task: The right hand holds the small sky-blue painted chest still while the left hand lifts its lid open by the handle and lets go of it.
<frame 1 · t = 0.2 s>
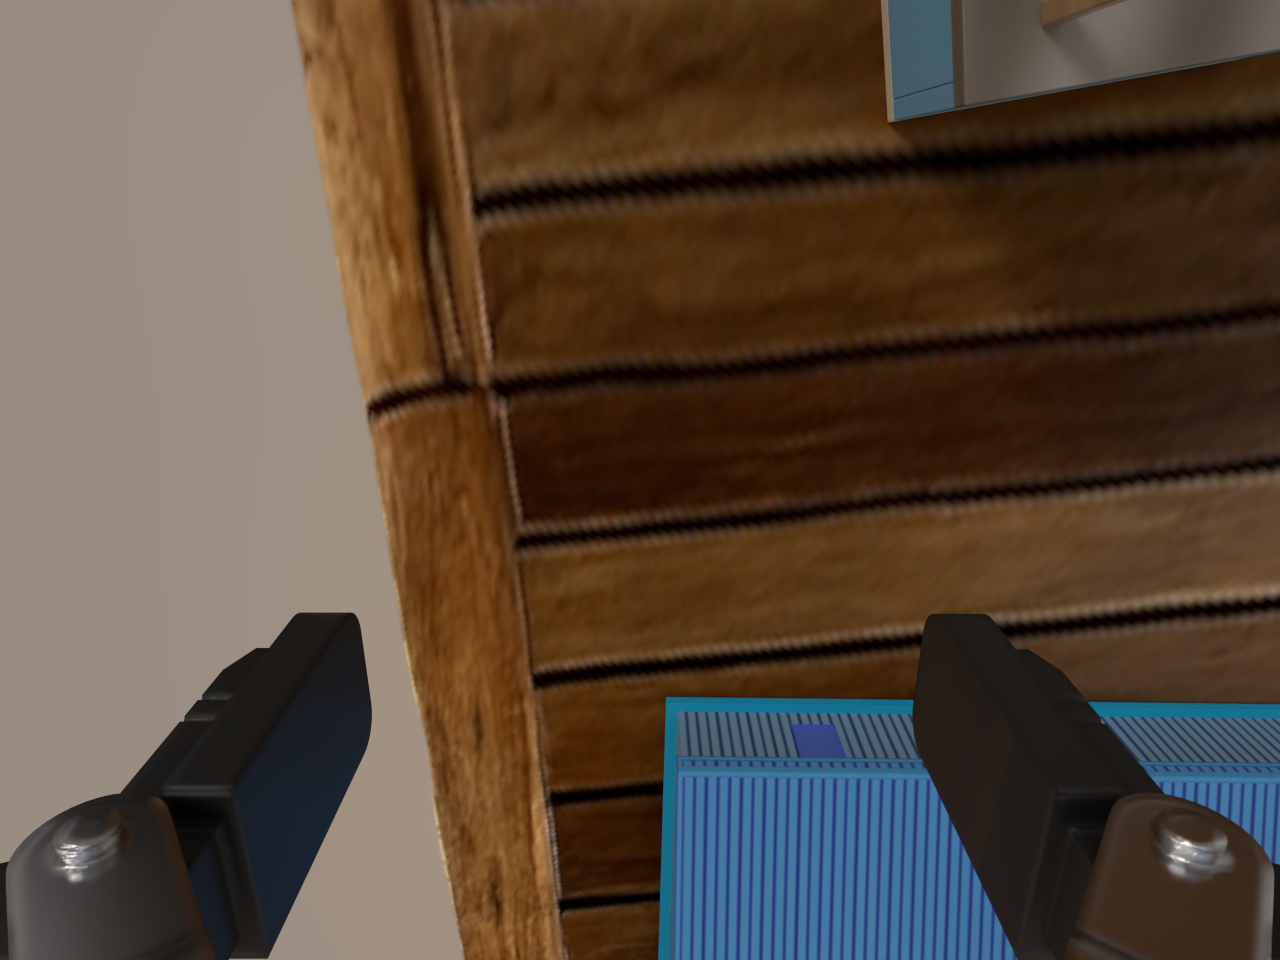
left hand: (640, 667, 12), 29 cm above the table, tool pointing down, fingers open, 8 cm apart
model building: (976, 858, 50), on the table
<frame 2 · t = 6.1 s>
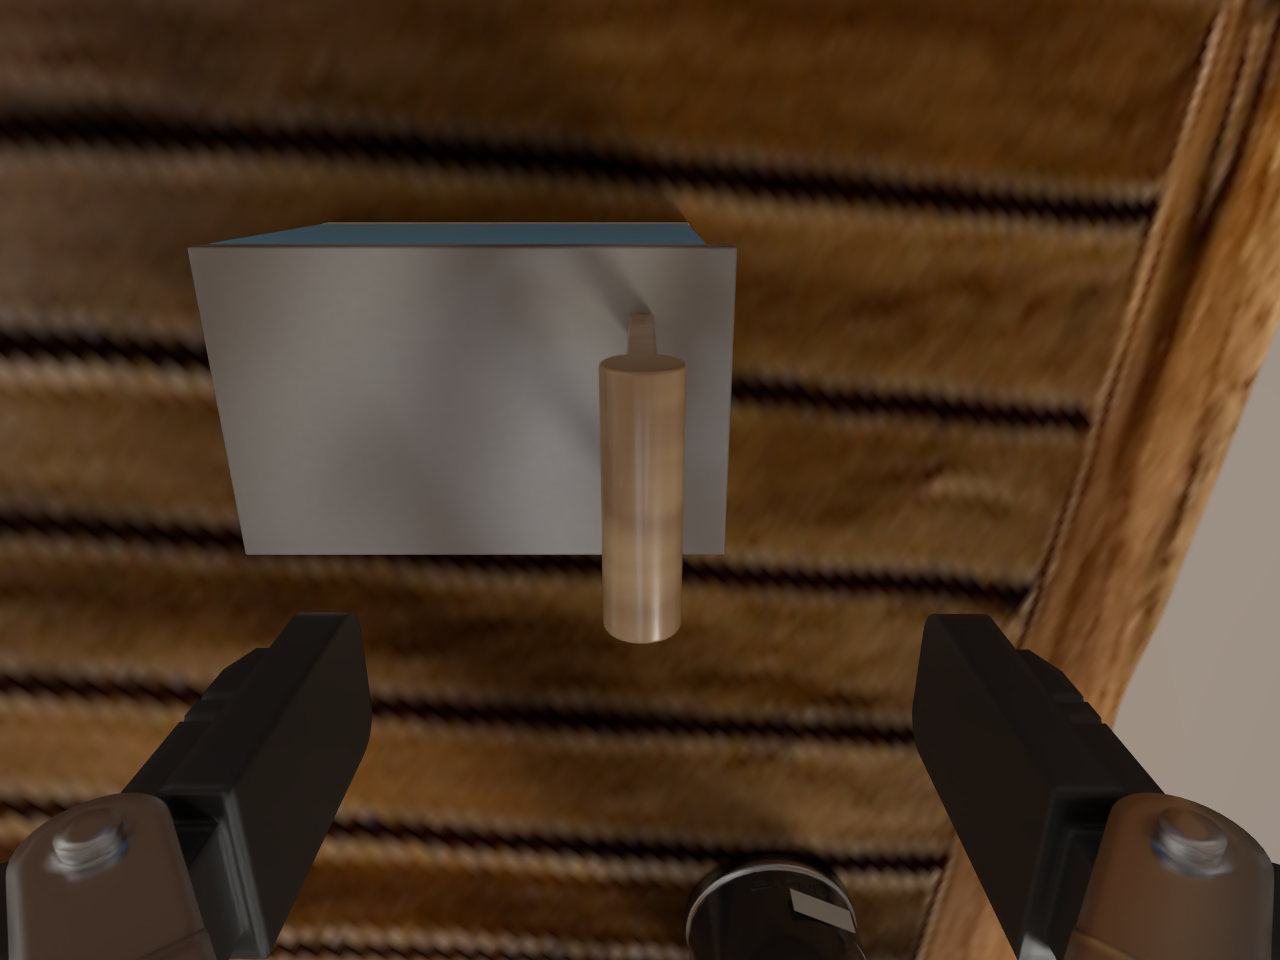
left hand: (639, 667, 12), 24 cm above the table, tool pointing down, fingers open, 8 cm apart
lid: (449, 448, 21), point 15 cm above the table, hinge at 0.0°
chest: (515, 338, 34), on the table
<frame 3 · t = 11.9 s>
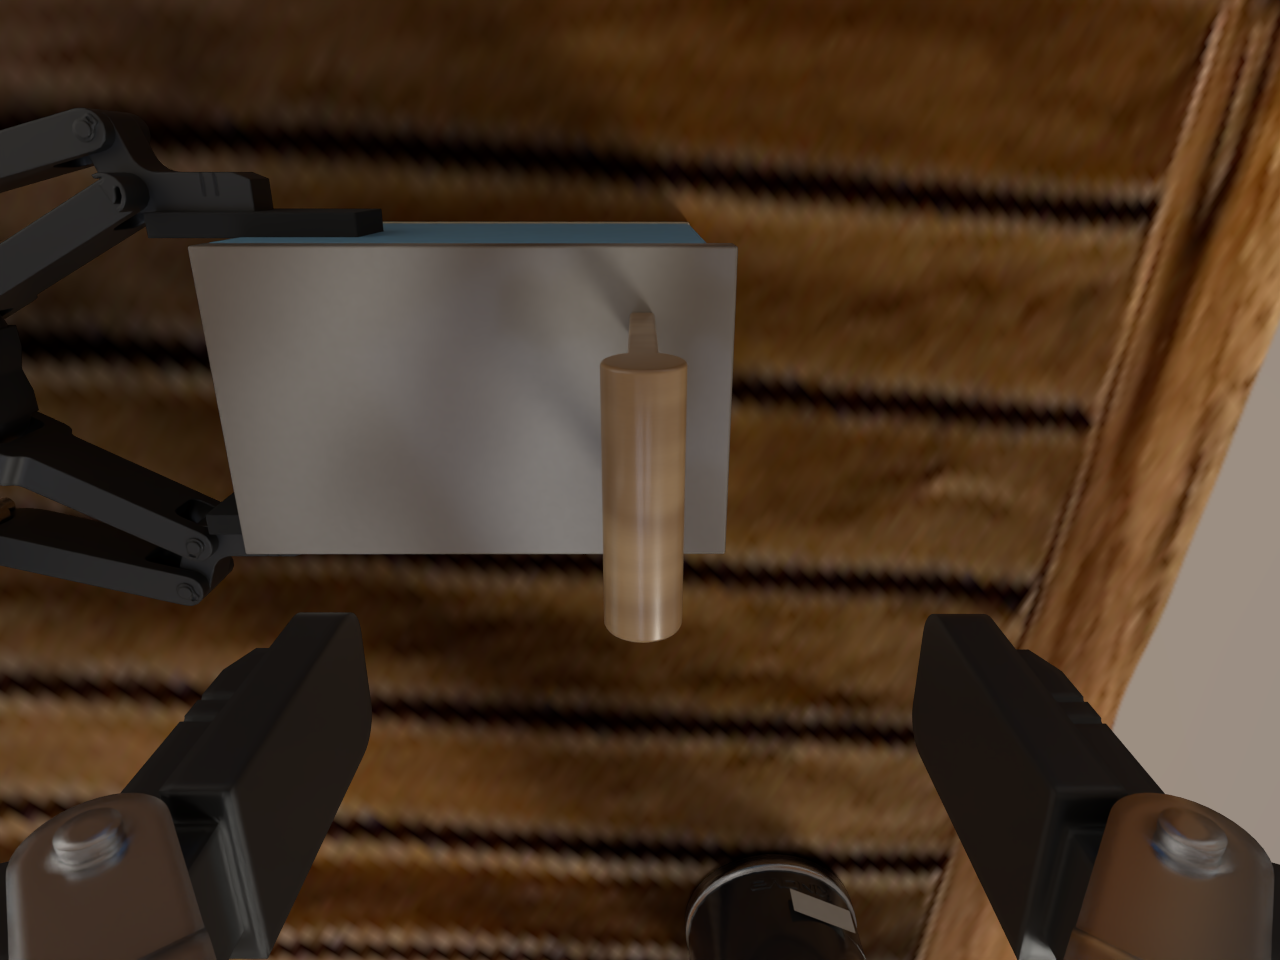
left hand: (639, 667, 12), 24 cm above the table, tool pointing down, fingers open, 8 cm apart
lid: (449, 447, 21), point 15 cm above the table, hinge at 0.0°
chest: (515, 338, 34), on the table, touching right hand
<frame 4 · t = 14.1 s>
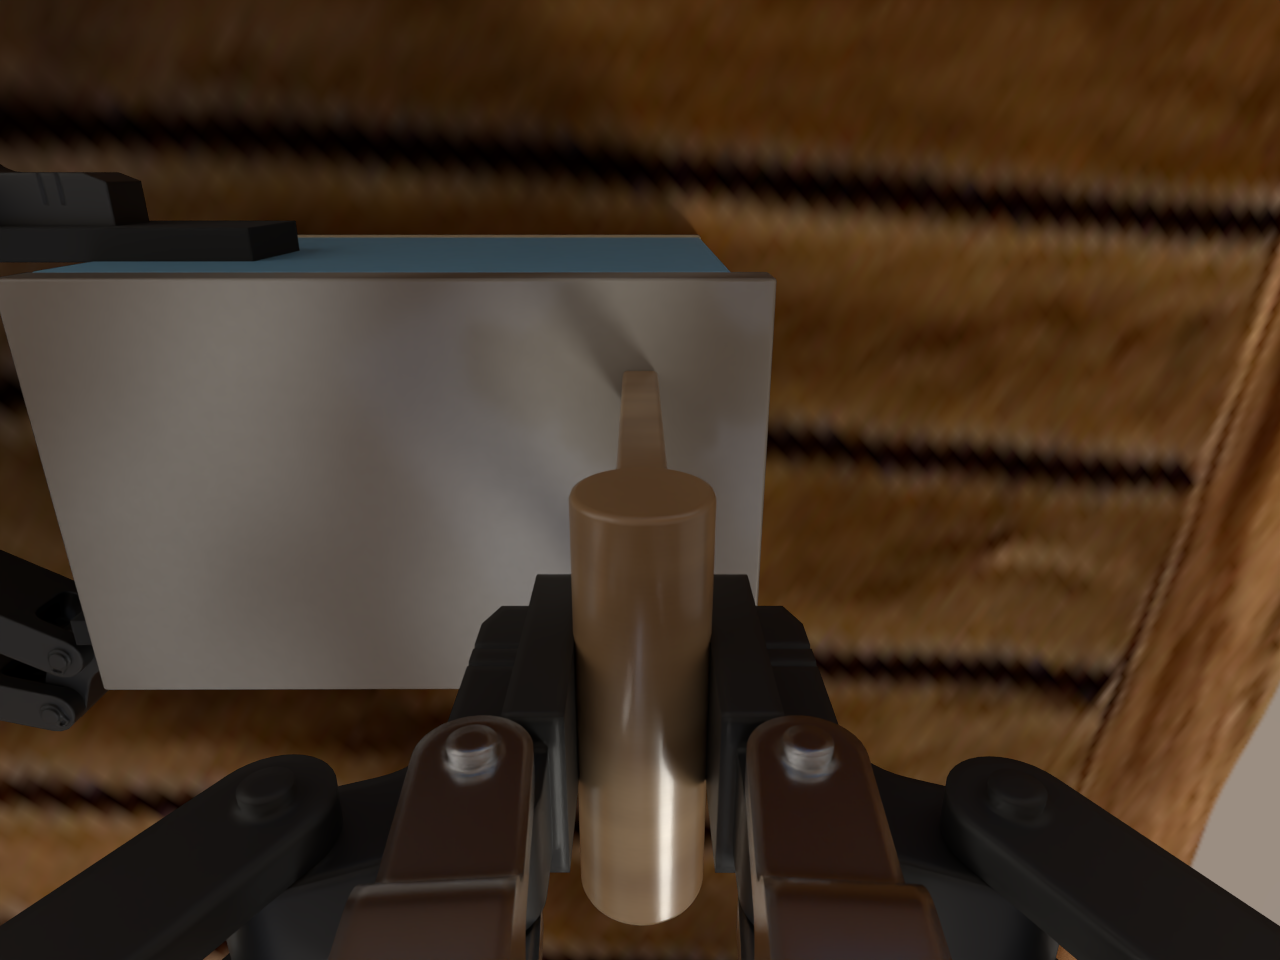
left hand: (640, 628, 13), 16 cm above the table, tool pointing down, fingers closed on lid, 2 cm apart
lid: (357, 578, 14), point 15 cm above the table, hinge at -0.1°, touching left hand
chest: (483, 378, 28), on the table, touching right hand
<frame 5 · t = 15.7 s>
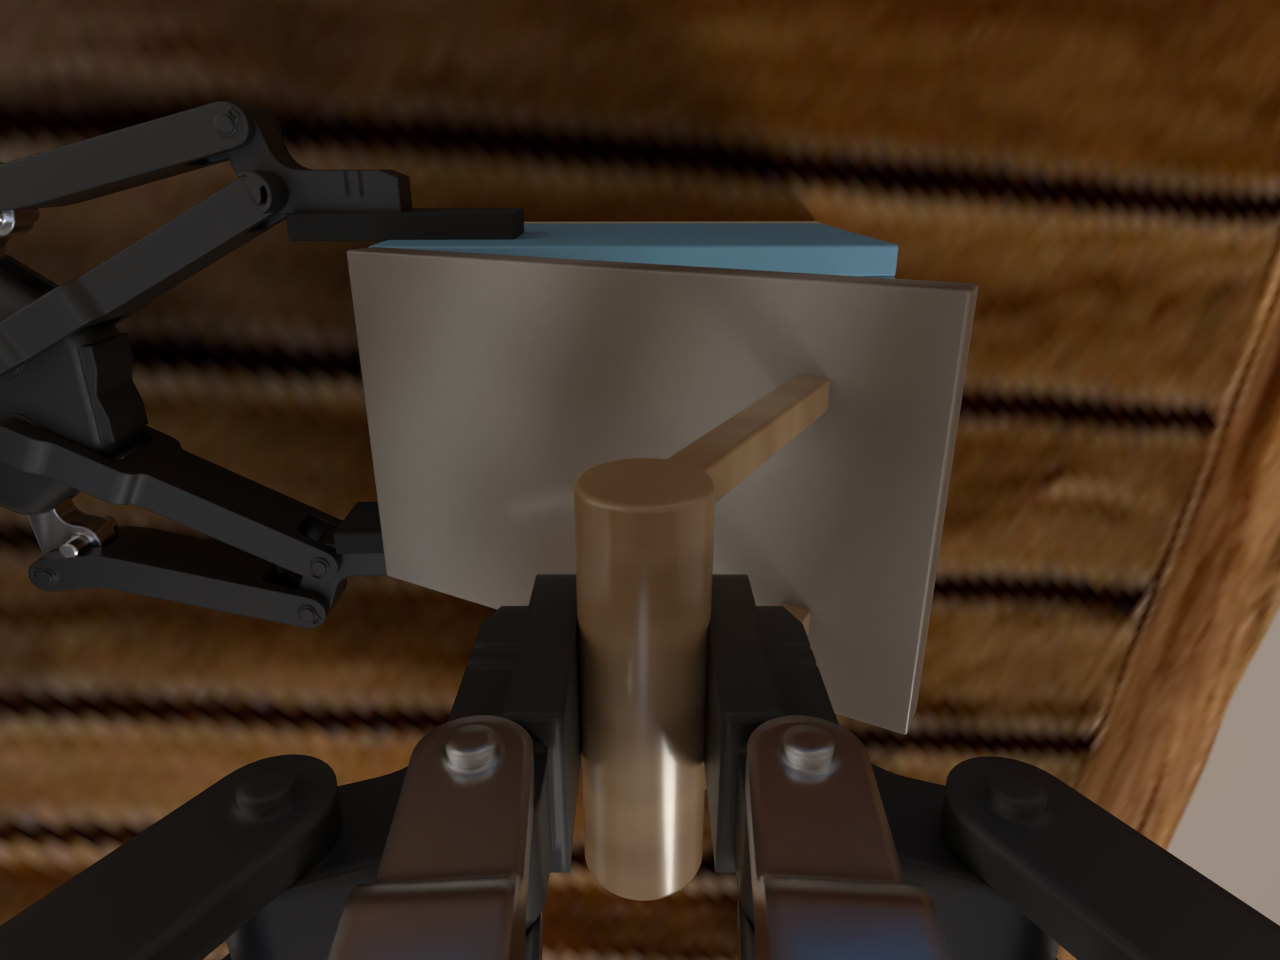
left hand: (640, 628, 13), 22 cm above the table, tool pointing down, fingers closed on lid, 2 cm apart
right hand: (527, 384, 27), fingers closed on chest, 9 cm apart
lid: (512, 523, 16), point 18 cm above the table, hinge at 30.3°, touching left hand
chest: (630, 343, 33), on the table, touching right hand
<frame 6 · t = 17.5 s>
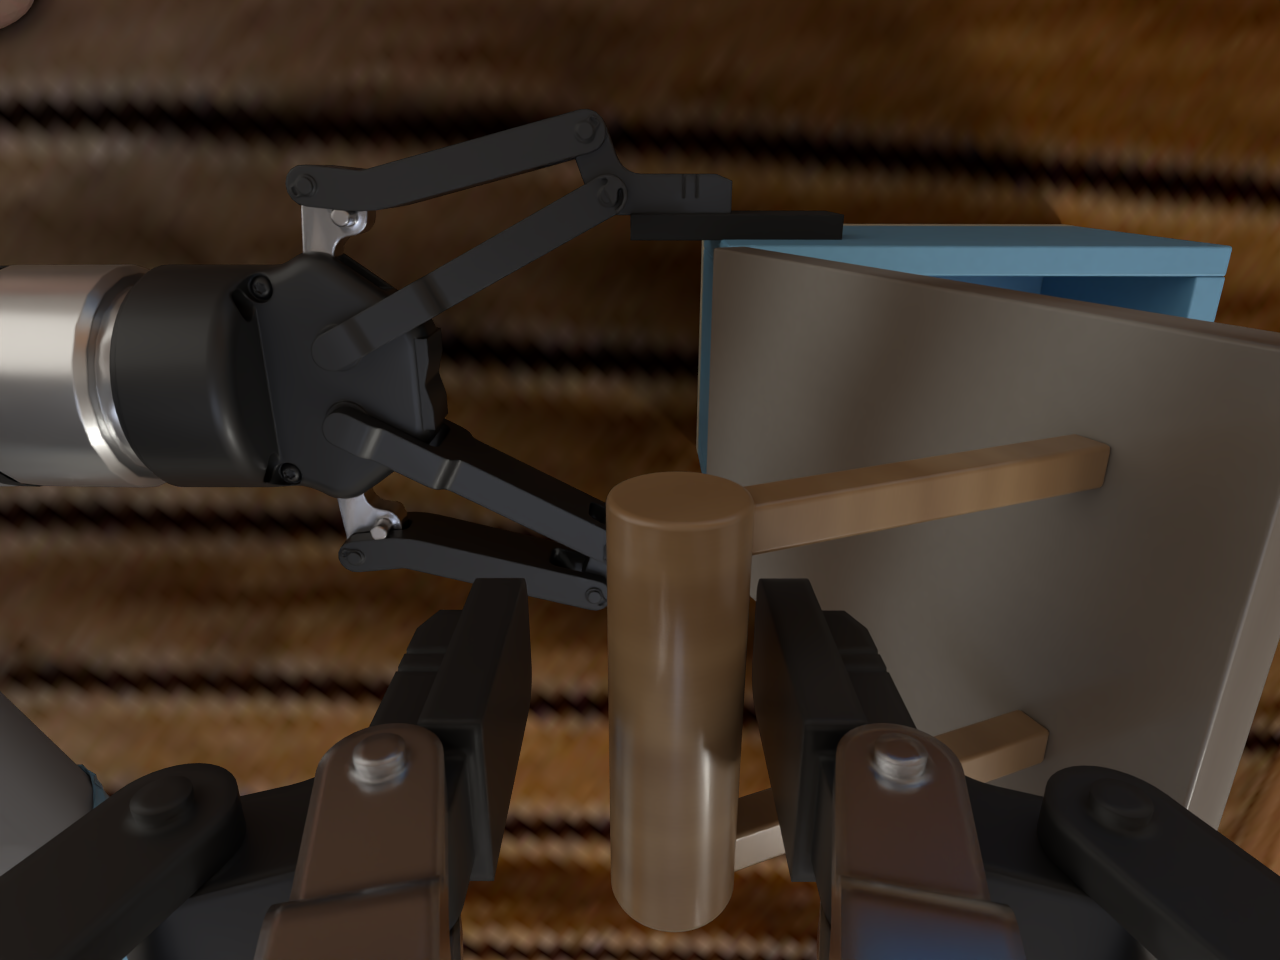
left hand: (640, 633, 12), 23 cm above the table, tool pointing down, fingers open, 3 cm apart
right hand: (820, 378, 28), fingers closed on chest, 9 cm apart
lid: (730, 526, 16), point 19 cm above the table, hinge at 67.0°
chest: (870, 341, 34), on the table, touching right hand
when the right hand's fingers open (7 cm above the table, at t = 21.1 s): chest stays where it is, on the table.
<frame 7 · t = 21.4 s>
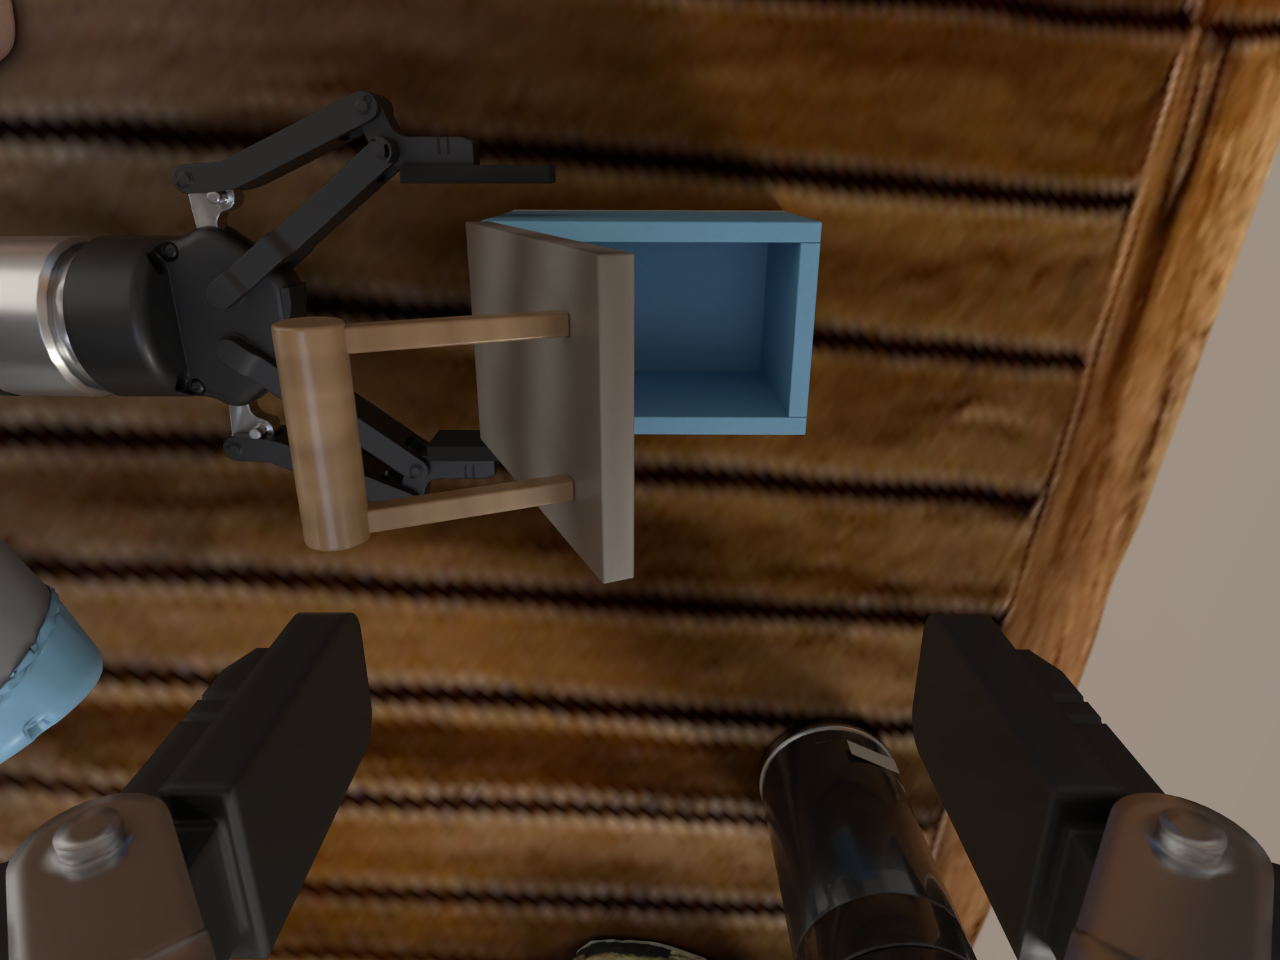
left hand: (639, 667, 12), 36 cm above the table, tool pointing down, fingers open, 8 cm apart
right hand: (558, 317, 39), fingers open, 12 cm apart
lid: (424, 382, 27), point 19 cm above the table, hinge at 66.1°
chest: (648, 299, 45), on the table
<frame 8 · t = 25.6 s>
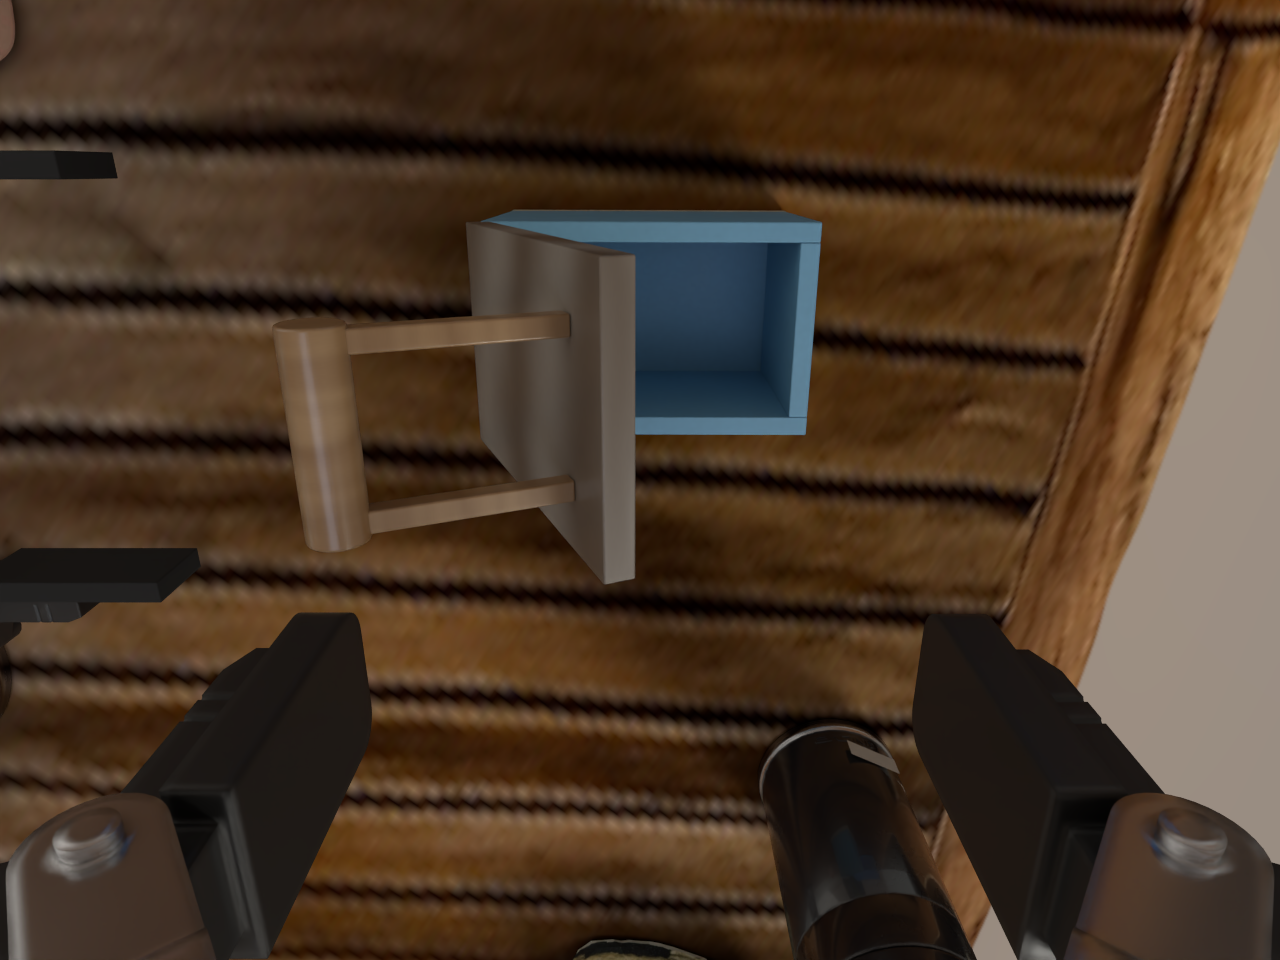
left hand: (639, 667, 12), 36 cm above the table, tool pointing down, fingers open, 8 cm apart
lid: (425, 382, 27), point 19 cm above the table, hinge at 66.1°
chest: (648, 299, 45), on the table
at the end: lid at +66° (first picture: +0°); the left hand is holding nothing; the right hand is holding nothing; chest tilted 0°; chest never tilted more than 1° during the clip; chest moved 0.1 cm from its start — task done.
